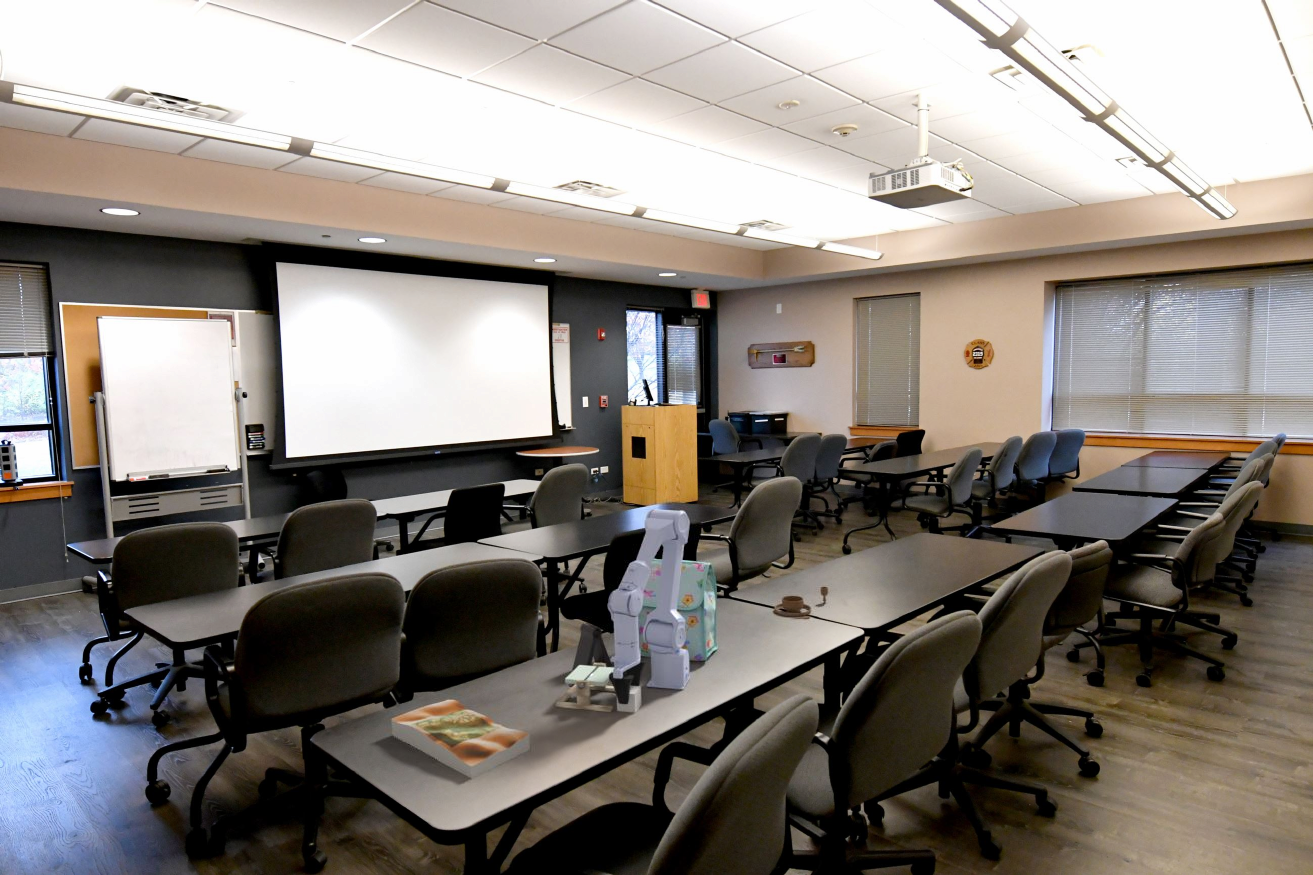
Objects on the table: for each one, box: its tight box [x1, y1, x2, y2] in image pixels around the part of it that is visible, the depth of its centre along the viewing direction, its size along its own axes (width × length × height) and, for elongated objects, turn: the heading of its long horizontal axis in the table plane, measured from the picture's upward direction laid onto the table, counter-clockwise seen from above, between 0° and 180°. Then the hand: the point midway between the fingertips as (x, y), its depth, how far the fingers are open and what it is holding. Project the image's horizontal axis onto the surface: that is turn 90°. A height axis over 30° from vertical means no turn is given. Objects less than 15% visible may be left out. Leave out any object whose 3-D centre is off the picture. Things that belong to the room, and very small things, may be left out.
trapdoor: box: [564, 665, 614, 688], centre depth 182 cm, size 10×9×2 cm
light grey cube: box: [616, 685, 642, 713], centre depth 176 cm, size 4×4×4 cm
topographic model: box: [390, 699, 531, 780], centre depth 161 cm, size 30×14×5 cm, turn 49°
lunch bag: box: [638, 558, 719, 662], centre depth 210 cm, size 23×16×27 cm
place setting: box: [774, 586, 829, 620], centre depth 245 cm, size 18×20×6 cm
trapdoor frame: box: [555, 662, 616, 713], centre depth 182 cm, size 14×14×7 cm
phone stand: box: [572, 622, 613, 671], centre depth 201 cm, size 9×6×12 cm, turn 128°
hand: (628, 696), depth 176 cm, fingers open, 7 cm apart
